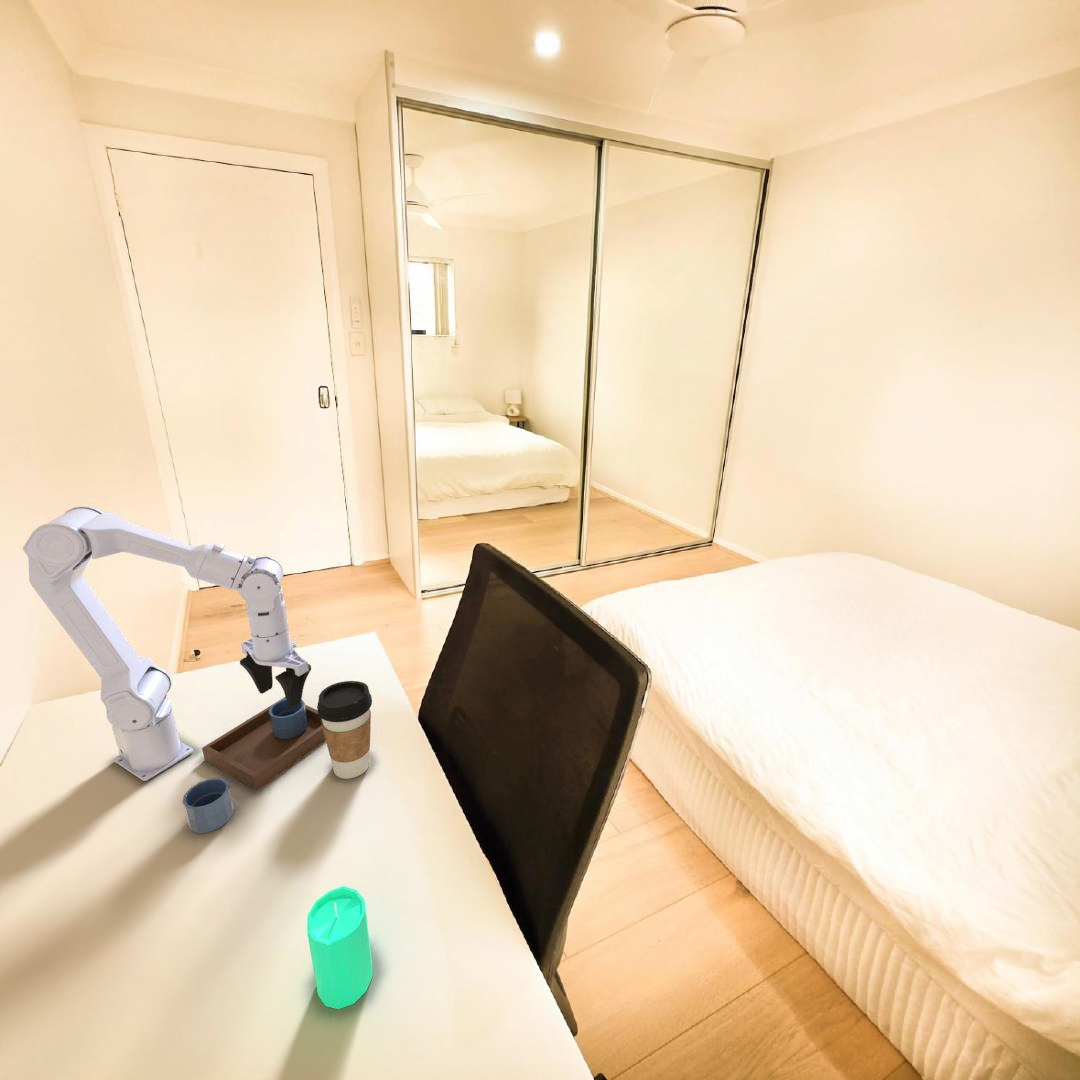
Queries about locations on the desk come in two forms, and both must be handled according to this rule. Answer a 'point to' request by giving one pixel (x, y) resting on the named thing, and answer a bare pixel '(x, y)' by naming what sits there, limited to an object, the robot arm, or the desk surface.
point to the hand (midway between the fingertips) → (280, 696)
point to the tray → (261, 748)
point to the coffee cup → (347, 726)
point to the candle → (340, 947)
